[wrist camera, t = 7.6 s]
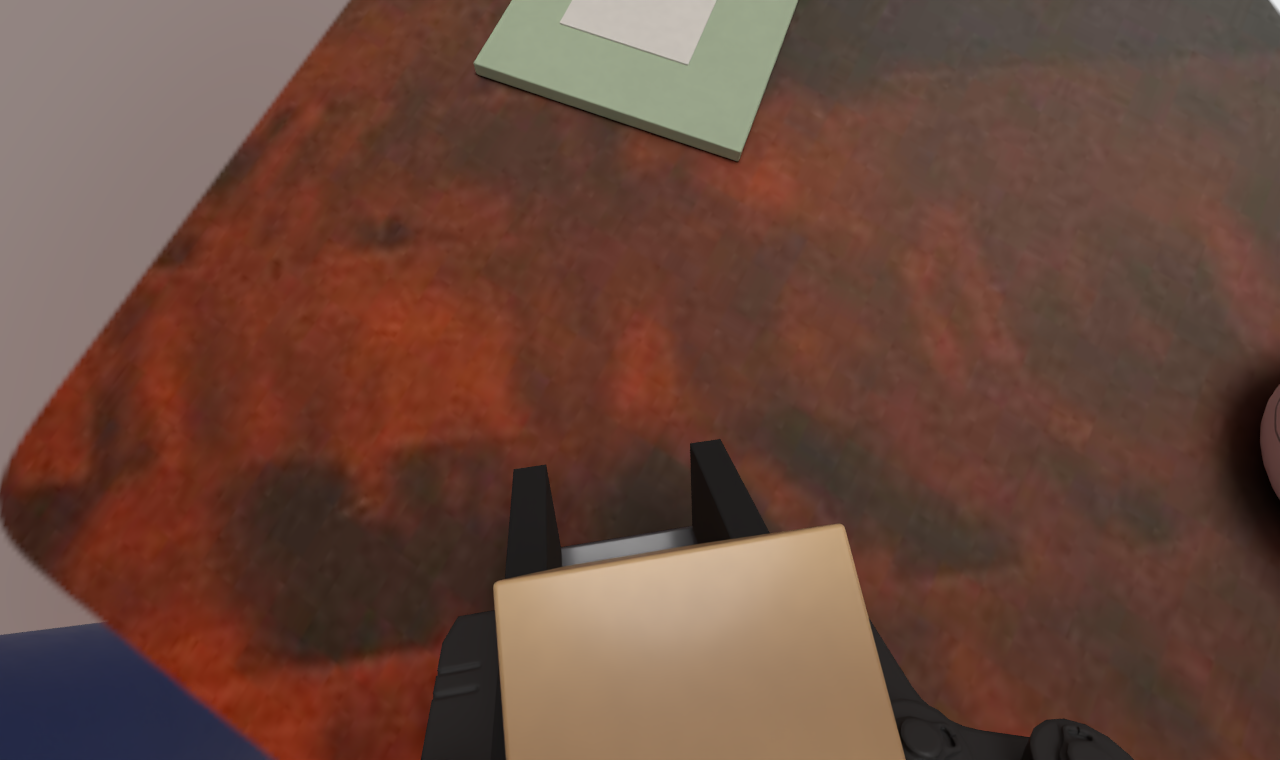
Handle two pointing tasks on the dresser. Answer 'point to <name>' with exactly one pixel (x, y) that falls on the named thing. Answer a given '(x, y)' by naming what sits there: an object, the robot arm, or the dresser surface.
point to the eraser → (693, 652)
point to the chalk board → (646, 61)
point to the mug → (1271, 440)
